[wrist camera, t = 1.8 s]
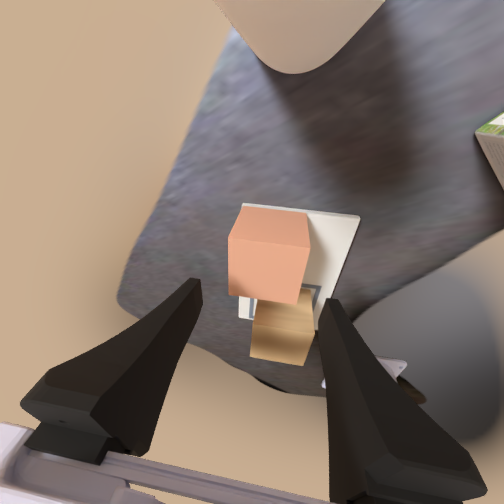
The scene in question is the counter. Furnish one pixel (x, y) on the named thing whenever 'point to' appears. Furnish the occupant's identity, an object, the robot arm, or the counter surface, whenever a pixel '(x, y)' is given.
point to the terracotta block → (268, 254)
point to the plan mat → (317, 256)
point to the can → (297, 28)
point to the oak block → (283, 330)
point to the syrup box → (493, 144)
